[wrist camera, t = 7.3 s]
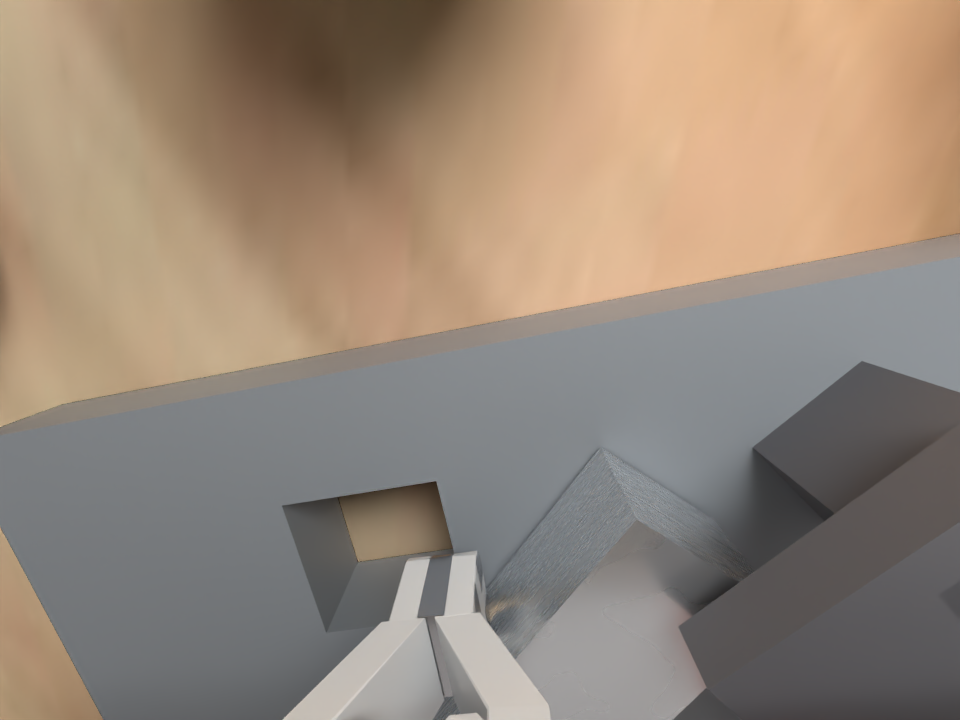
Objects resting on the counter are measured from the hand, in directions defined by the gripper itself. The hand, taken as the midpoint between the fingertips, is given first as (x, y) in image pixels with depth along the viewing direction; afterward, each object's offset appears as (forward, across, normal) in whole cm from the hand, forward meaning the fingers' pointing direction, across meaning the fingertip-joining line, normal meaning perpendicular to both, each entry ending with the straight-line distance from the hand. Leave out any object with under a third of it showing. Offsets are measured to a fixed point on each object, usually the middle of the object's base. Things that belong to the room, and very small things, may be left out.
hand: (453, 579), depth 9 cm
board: (+3, -2, +4) cm, 5 cm away
